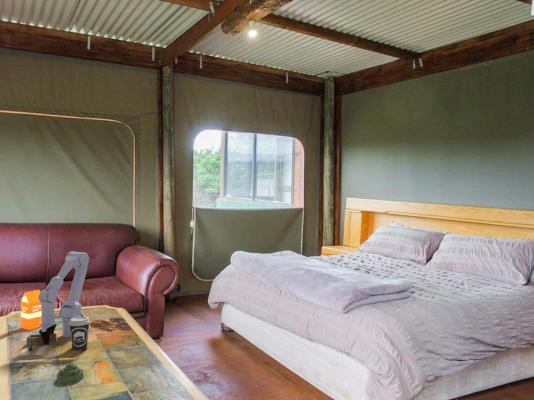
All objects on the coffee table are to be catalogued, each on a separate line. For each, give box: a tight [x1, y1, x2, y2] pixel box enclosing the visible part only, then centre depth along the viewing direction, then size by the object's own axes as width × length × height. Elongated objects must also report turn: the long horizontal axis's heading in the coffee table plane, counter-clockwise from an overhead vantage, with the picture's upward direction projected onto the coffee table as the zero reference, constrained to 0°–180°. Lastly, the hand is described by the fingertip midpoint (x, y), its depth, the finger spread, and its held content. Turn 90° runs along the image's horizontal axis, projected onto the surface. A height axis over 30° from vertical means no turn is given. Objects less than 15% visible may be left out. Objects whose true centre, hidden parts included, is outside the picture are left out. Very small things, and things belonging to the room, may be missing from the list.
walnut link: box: [26, 332, 57, 346], centre depth 231 cm, size 12×6×4 cm, turn 99°
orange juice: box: [20, 289, 42, 330], centre depth 261 cm, size 8×9×20 cm
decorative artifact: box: [56, 361, 84, 385], centre depth 193 cm, size 10×7×10 cm
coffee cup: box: [69, 315, 91, 353], centre depth 226 cm, size 10×10×15 cm
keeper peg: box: [28, 339, 32, 351], centre depth 222 cm, size 2×2×6 cm
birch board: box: [16, 339, 59, 357], centre depth 226 cm, size 13×20×1 cm, turn 9°
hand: (48, 341), depth 232 cm, fingers closed on walnut link, 5 cm apart
